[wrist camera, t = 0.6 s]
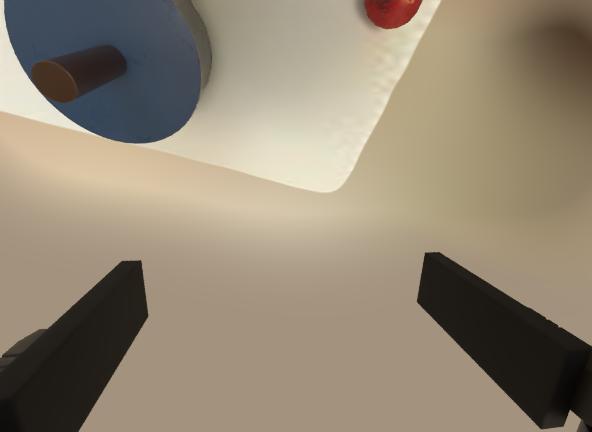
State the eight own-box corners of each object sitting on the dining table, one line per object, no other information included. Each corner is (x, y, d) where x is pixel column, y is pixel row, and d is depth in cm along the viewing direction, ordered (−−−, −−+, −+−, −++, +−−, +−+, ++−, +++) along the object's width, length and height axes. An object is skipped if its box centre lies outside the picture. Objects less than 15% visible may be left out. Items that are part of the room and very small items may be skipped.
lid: (33, 114, 28) (-53, 155, 21) (-9, -100, 20) (-185, -164, 12) (193, 155, 32) (170, 203, 25) (215, -7, 24) (191, -11, 16)
